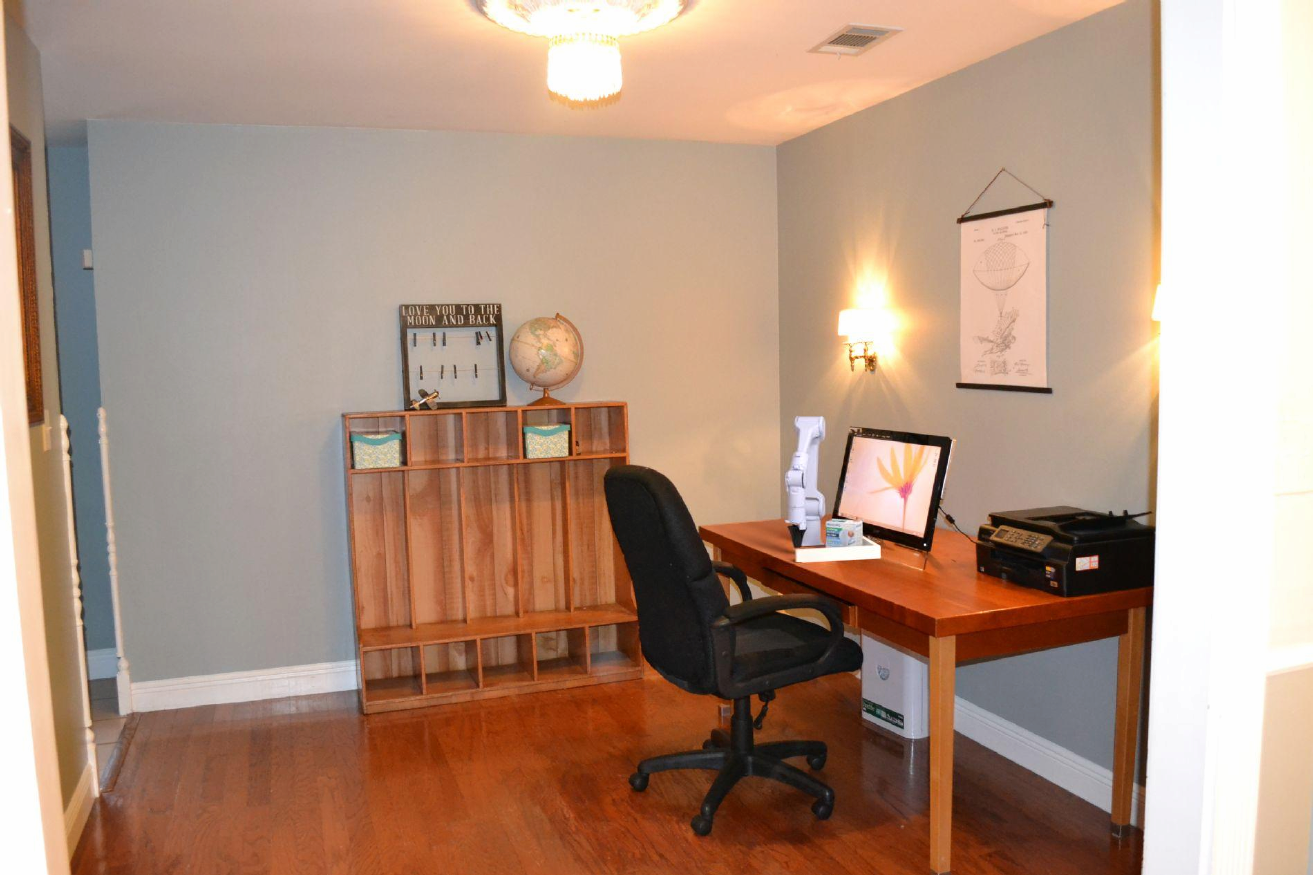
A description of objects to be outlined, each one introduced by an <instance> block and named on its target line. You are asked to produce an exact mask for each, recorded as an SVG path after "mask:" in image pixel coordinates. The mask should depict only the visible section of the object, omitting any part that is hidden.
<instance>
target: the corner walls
mask: <svg viewBox="0 0 1313 875" xmlns="http://www.w3.org/2000/svg"><path fill="white" fill-rule="evenodd" d="M862 540H863V546H851V547H832V548H826V547H819V548H818V547H817V548H814V547H813V548H802V549H801V548H794V549H795V554H794V555H795V556H794V557H795V558H794V560H795V563H796V562H802V563H815V562H816V563H819V562H835V561H837V562H838V561H853V560H872V559H873V560H874V559H881V558H882V556H881V545H880V544H878V543H876V542H874V541H873V540H871V539H869V538H868V537H866V536H864V535H863V538H862Z"/></svg>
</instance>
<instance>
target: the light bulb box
mask: <svg viewBox="0 0 1313 875" xmlns="http://www.w3.org/2000/svg"><path fill="white" fill-rule="evenodd" d="M863 534H864V533H863V520H856V519H855V520H852V519H842V518H841V519H840V518H839V519H838V518H832V519H829V520H828V521H827V520H826V522H825V548H832V547H851V546H863V540H862V538H863V536H864V535H863Z"/></svg>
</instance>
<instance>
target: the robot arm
mask: <svg viewBox="0 0 1313 875" xmlns="http://www.w3.org/2000/svg"><path fill="white" fill-rule="evenodd" d="M793 429H794V430H793V431H794V433H795V436H796V437H797V445H796V451H794V452H793V454H792V456H791V460H790V464H789V469H788V471H786V473H785V478H784V482H785V488H786V490H785V491H786V493H787V519H784V523H785V524H791V525H787V529H788V532H789V534H790V538H791V542H792V545H793V548H794V549H801V548H802V547H810V546H811V547H813V546H814V547H815V546H825V543H824V542H823V541H822V534H821V532H822V530H821V526H822V525H821V519H822V518H823V517H824V516H825V515H826V501H825V500H826V498H825V495H824V494H822V492H820V491H819V490H818V474H819V471H818V470H819V451H820V450H819V449H820V448H819V447H820V443H821V442H824V441H825V438H826V419H825V418H824V416H822V415H821V416H799V415H796V416H795V418H794V421H793Z"/></svg>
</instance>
